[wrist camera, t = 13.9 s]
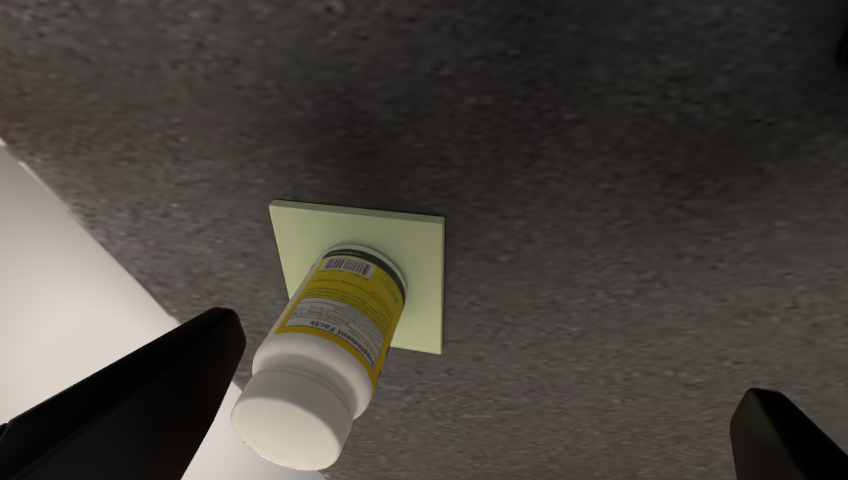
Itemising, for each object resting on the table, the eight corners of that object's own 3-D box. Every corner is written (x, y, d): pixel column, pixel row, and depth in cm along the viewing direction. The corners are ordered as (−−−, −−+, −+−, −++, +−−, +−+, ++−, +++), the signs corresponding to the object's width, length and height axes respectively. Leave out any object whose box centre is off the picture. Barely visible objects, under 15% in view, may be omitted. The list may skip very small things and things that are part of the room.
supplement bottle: (359, 331, 25) (289, 487, 18) (295, 268, 23) (191, 414, 17) (429, 296, 23) (377, 462, 16) (362, 224, 21) (274, 374, 14)
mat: (444, 216, 21) (442, 224, 20) (443, 346, 25) (440, 354, 25) (274, 199, 22) (267, 205, 22) (301, 324, 27) (296, 332, 26)
